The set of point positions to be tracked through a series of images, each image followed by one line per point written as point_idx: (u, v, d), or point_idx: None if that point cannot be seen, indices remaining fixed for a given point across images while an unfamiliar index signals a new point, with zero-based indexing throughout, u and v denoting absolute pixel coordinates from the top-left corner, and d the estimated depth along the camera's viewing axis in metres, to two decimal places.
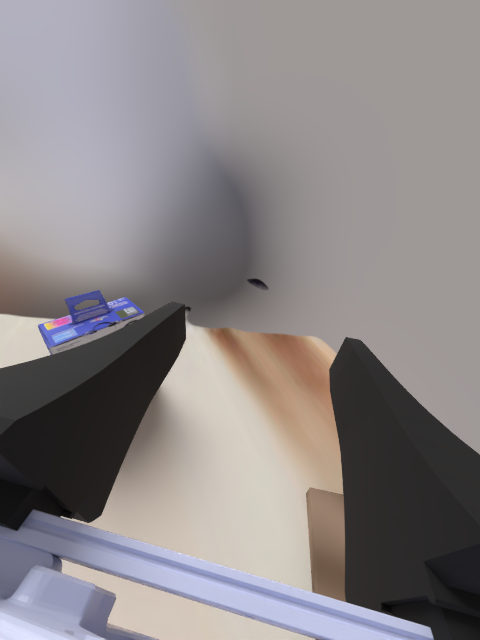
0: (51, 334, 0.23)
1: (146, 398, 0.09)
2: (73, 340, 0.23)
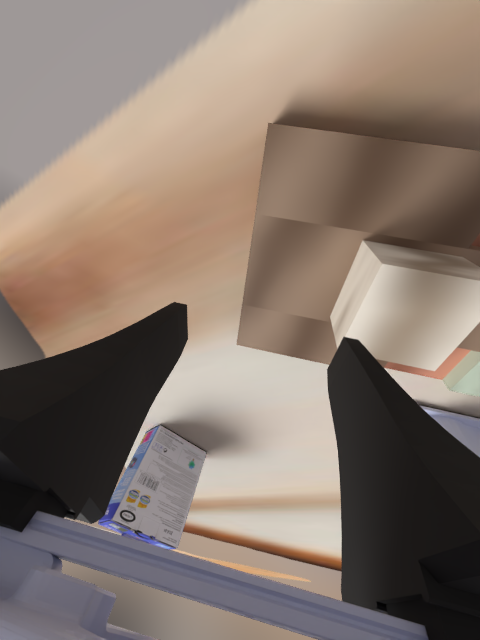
0: (165, 548, 0.30)
1: (149, 399, 0.09)
2: (165, 542, 0.29)
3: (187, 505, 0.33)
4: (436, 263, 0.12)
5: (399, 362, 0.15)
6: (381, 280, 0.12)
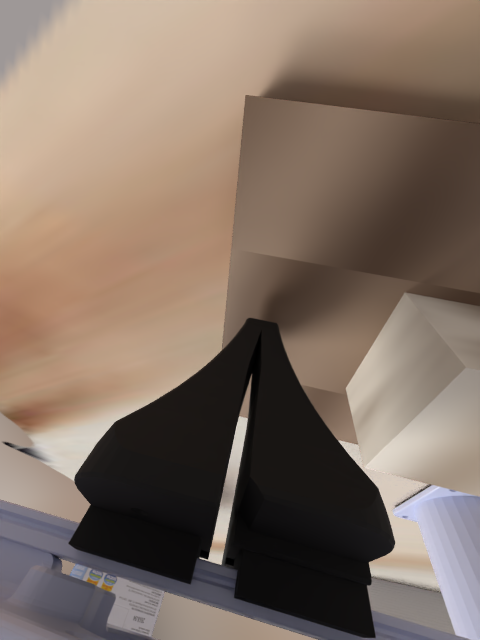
0: None
1: (237, 420, 0.08)
2: None
3: None
4: None
5: (464, 491, 0.09)
6: (458, 392, 0.06)
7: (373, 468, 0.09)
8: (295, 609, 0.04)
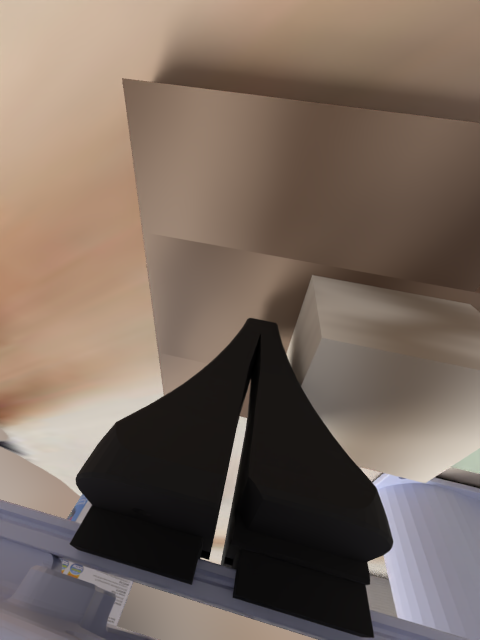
0: None
1: None
2: None
3: None
4: (425, 326, 0.07)
5: (370, 467, 0.09)
6: (324, 362, 0.07)
7: None
8: (293, 608, 0.04)
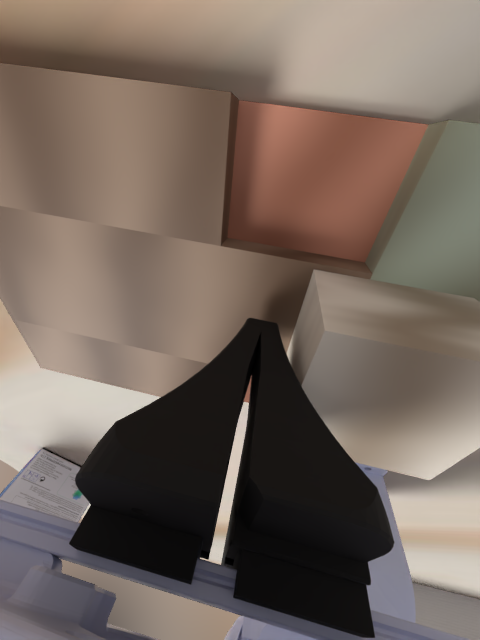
0: None
1: (237, 420, 0.08)
2: None
3: None
4: (430, 319, 0.07)
5: (373, 465, 0.09)
6: (328, 357, 0.06)
7: None
8: (294, 608, 0.04)
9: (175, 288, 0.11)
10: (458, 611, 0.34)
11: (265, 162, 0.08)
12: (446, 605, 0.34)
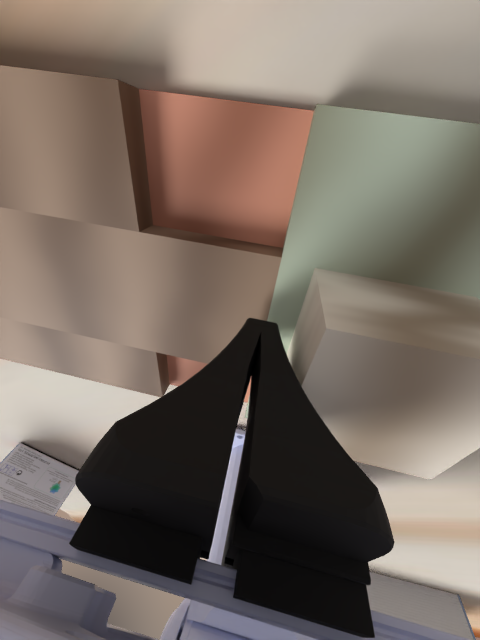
0: None
1: (237, 420, 0.08)
2: None
3: None
4: (432, 318, 0.07)
5: (373, 464, 0.09)
6: (329, 355, 0.06)
7: None
8: (294, 608, 0.04)
9: (106, 275, 0.11)
10: (435, 606, 0.34)
11: (173, 149, 0.09)
12: (423, 599, 0.35)
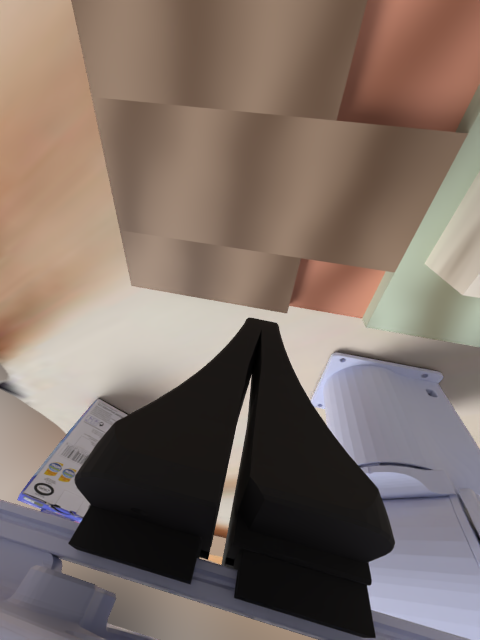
0: None
1: (237, 420, 0.08)
2: None
3: None
4: None
5: None
6: None
7: (471, 293, 0.11)
8: (295, 608, 0.04)
9: (284, 173, 0.13)
10: None
11: (381, 40, 0.10)
12: None
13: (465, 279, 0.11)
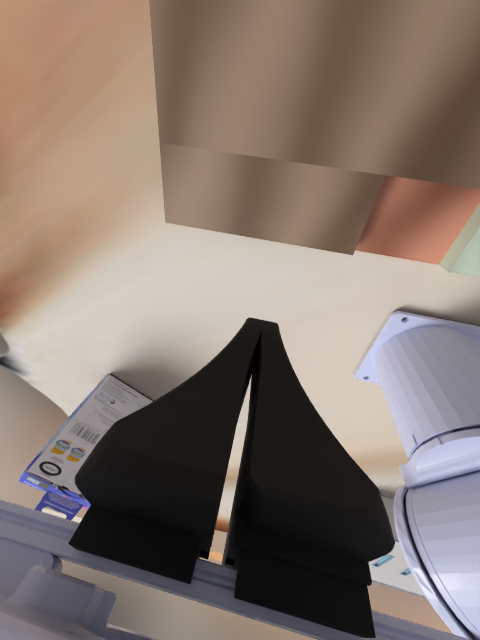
0: None
1: (237, 420, 0.08)
2: None
3: None
4: None
5: None
6: None
7: None
8: (294, 608, 0.04)
9: (389, 44, 0.10)
10: None
11: None
12: None
13: None
